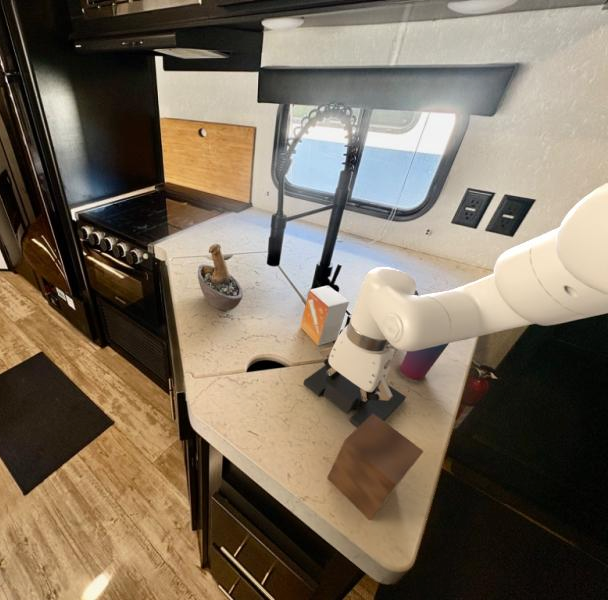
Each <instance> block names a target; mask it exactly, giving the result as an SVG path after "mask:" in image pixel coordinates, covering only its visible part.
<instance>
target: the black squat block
mask: <svg viewBox="0 0 608 600" xmlns="http://www.w3.org/2000/svg"><path fill="white" fill-rule="evenodd" d="M322 394H323V396H324V397H325V398H327V400H329V401H330V402H331V403H333V404H334V405H335V406H336V407H337V408H339V409H340V410H341V411H342V412H344V413H345V414H346V415H349V414H350V413H351V412H353V411H354V410H353V407H354V405H355V403H356V400H357V398H358V397H359V396H360V395H361V393H360V387H358V386H357V385H355V384H354V383H353V382H351V381H350V380H348V379H347V378H346V377H344V376H343V375H341V374H339V375H338V376H336V377H335V378H334V379H332V380H331V381H329V382H328V383H327V386H326V389H325V391H324V392H323V393H322Z"/></svg>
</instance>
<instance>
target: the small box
mask: <svg viewBox="0 0 608 600" xmlns="http://www.w3.org/2000/svg"><path fill="white" fill-rule="evenodd" d="M349 304H350V301H349V300H348V299H346V297H344V296H343V295H342V294H340V293H339V292H338V291H336V290H335V289H334V288H333V287H331V286H330V285H324V286H319V287H316V288H311V289H309V290H308V293H307V297H306V302H305V306H304V310H303V314H302V319H301V323H300V329H301V330H302V331H304V333H305V334H306V335H307V336H308V337H309V338H310V339H311V340H312V341H313V342H314V344H315V345H317V346H322V345H325V344H328V343H332V342H334V341H335V342H336V340H337V339H338V337H339V335H340V331H341V328H342V325H343V322H344V319H345V315H346V313H347V309H348V307H349Z"/></svg>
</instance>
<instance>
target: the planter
mask: <svg viewBox="0 0 608 600" xmlns="http://www.w3.org/2000/svg"><path fill="white" fill-rule="evenodd" d="M221 248H222V247H221V244H219V243H214V244H211V246H209V249H208V253H209V254H210V255H211V258H212V259H211V260H212V262H213V265H209V264H200V265H199V266H198V269H197V278H198V283H199V287H200V290H201V292H202V294H203V297H204V299H206V301H207V302H208V303H209V305H211V306H212V307H214V309H216V310H219V311H222V312H223V311H224V312H226V311H232V310H234V309H235V308H236V307H238V305H239V304H240V302H241V301H242V299H243V295H244V293H243V292H244V291H243V289H242V286H241V285H240V283H239V281H238V280H237V279H236V278H235V277H234V276H233V275H232V274H230V273H229V270H228V266H227V263H226V260H225V258H224V255H223V253H222V249H221Z"/></svg>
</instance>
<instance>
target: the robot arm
mask: <svg viewBox="0 0 608 600" xmlns="http://www.w3.org/2000/svg"><path fill="white" fill-rule="evenodd" d="M415 291H417V283H416V281H415V279H414V278H413V277H412V276H411V275H410V274H409V273H407V272H405V271H402V270H400V269H397V268H392V267H386V266H385V267H383V266H382V267H376V268H372V269H371V270H369V271H368V273H366V274H365V276H364V279H363V282H362V284H361V287H360V290H359V294H358V296H357V298H356V302H355V305H354V307H353V310H352V314H351V316H350V318H349V322H348V324H346V326H345V327H344V328H343V329H342V331H341V332H340V333H339V334H338V337H337V340H335V342H334V344H333V346H332V347H326V348H323V349H321V350H320V351H319V354H320V356H321V358H322V360H323V364H324V366H326V368H327V374H328V377H327V380H326V382H327V383H328V382H329V381H331V380H332V379H334V378H335V377H336V376H338V375H339V374H341V375H343V376H344V377H346V378H347V379H348V380H350V381H351V382H353V383H354V384H355V385H357V386H358V387H360V393H361V395H360V396H359V397H358V398H357V400H356V403H355V405H354V407H353V410H352V411H354V412H357V411H358V410H359V409H363V408H364V407H365V406H366V404H367V402H368V400H387V401H388V400H390V399H391V398H392V397H393V395H392V393H391V391H390V389H389V387H388V385H389V384H388V383H387V380H386V379H387V377H388V374H389V372H390V368H391V366H392V362H393V358H394V355H395V352H398V350H399V351H402V352H407V351H417V350H422V349H426V348H430V347H434V346H438V345H443V344H447V343H449V344H450V343H451V344H452V343H455V342H461V341H466V340H470V339H474V338H477V337H482V336H486V335H490V334H495V333H499V332H504V331H508V330H512V329H516V328H522V327H526V326H530V325H539V326H546V327H549V326H555V325H561V324H564V323H569V322H573V321H578V320H582V319H588V318H591V317H595V316H600V315H601V316H602V315H605V314H608V182H606V183H604V184H603V185H600V186H599V187H597V188H595V189H594V190H592V191H591V192H590V193H588V194H587V195H586V196H584V197H583V198H582V199H581V200H580V201H579V202H578V203H576V204H575V205H574V206H573V207H572V208H571V209H570V210H569V212H567V214H566V215H565V217H564V218H563V220H562V221H561V223H560V226H559V227H557V228H554V229H552V230H550V231H547V232H545V233H543V234H541V235H539V236H537V237H533V238H532V239H530V240H528V241H525V242H523V243H521V244H519V245H516V246H513V247H512V248H509V249H508V250H505V252H503V253H502V254H501V255H500V256H499V257H498V258H497V259H496V262H495V264H494V266H493V273H492V274H490V275H488V276H486V277H482V278H480V279H477V280H476V281H473V282H470V283H468V284H465V285H463V286H459V287H456V288H455V289H450V290H446V291H438V292H432V293H427V294H422V295H418V296H416V295H414V294H415ZM387 384H388V385H387ZM326 386H327V385H326ZM377 386H378V388H379V390H380V391H374V389H375V388H376V387H377Z"/></svg>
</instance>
